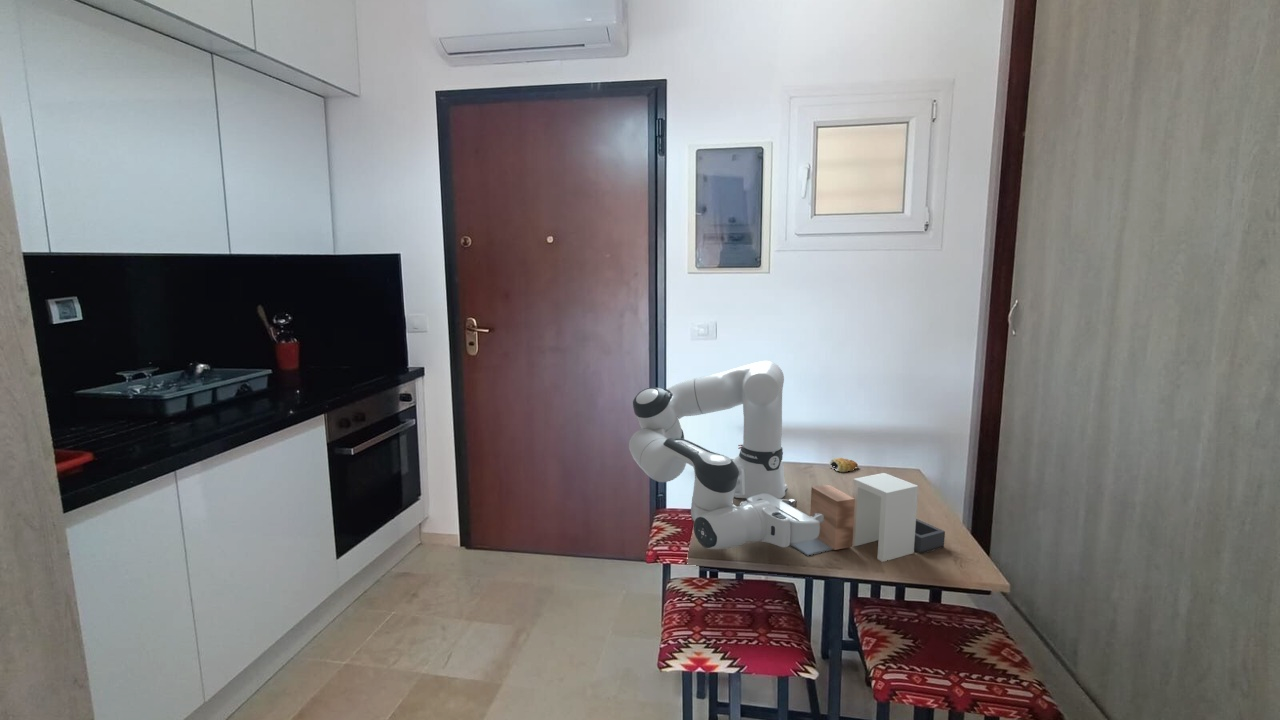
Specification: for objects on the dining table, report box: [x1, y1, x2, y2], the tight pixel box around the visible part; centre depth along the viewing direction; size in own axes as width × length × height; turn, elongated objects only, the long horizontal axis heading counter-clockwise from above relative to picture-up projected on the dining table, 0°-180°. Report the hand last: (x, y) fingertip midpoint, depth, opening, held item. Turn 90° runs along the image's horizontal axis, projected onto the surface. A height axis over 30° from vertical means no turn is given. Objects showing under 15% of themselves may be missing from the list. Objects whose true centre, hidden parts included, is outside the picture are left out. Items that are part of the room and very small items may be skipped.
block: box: [809, 484, 855, 551], centre depth 145 cm, size 5×10×12 cm, turn 19°
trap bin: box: [914, 518, 946, 555], centre depth 146 cm, size 12×8×4 cm, turn 25°
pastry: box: [828, 457, 859, 473], centre depth 199 cm, size 9×7×4 cm
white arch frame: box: [852, 472, 919, 563], centre depth 141 cm, size 10×10×16 cm
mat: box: [789, 538, 834, 557], centre depth 145 cm, size 11×11×1 cm
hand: (807, 509), depth 144 cm, fingers open, 8 cm apart
